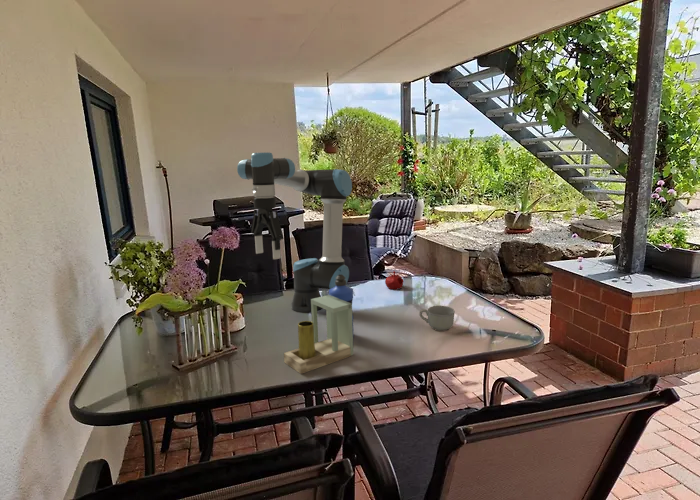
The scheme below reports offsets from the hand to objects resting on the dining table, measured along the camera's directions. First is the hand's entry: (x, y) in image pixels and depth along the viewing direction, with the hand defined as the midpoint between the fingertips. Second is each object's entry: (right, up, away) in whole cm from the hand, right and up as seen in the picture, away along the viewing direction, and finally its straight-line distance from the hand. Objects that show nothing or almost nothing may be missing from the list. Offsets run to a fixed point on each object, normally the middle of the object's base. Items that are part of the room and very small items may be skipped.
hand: (268, 255), depth 159 cm
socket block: (+19, -36, -6) cm, 41 cm away
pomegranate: (+54, -19, +79) cm, 97 cm away
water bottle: (+27, -32, +14) cm, 44 cm away
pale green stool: (+24, -35, 0) cm, 42 cm away
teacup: (+65, -30, +21) cm, 75 cm away
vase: (+15, -37, -8) cm, 41 cm away
